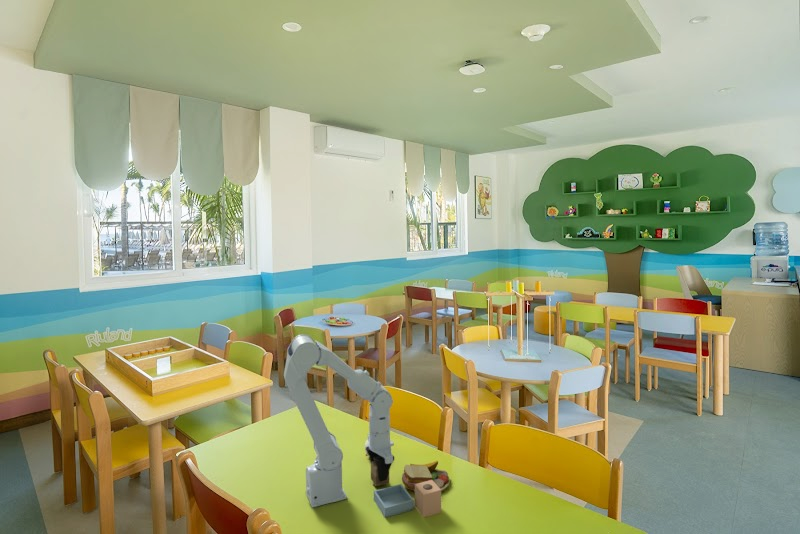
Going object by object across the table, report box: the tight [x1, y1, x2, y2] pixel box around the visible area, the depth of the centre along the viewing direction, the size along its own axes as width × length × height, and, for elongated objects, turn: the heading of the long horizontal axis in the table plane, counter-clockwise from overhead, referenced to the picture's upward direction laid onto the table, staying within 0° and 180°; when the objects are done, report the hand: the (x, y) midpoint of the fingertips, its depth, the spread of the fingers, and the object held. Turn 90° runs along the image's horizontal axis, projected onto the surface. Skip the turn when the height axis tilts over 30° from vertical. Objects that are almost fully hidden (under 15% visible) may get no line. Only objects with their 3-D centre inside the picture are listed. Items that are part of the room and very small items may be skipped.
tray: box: [373, 483, 415, 519], centre depth 118 cm, size 8×8×2 cm
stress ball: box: [364, 438, 369, 456], centre depth 143 cm, size 8×8×7 cm
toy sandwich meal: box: [401, 460, 451, 492], centre depth 127 cm, size 12×14×5 cm
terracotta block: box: [414, 480, 442, 518], centre depth 116 cm, size 5×5×6 cm
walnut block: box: [370, 461, 390, 487], centre depth 127 cm, size 4×4×5 cm
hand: (380, 475), depth 127 cm, fingers closed on walnut block, 4 cm apart
